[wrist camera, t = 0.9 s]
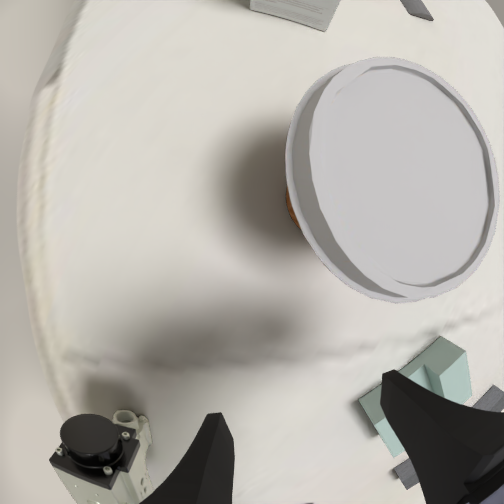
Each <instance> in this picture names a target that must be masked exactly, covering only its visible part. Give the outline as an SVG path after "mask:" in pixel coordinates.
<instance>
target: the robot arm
mask: <svg viewBox="0 0 504 504" xmlns="http://www.w3.org/2000/svg"><path fill="white" fill-rule="evenodd" d="M380 405H381V408H382V410H383V412H384V415H385V417H386V419H387V421H388V423H389V425H390V426H391V428H392V430H393V431H394V433H395V434H396V436H397V438H398V439H399V441H400V443H401V444H402V446H403V447H404V449H405V451H406V452H407V454H408V456H409V458H410V460H411V462H412V465H413V467H414V469H415V472H416V474H417V477H418V480H419V482H420V485H421V488H422V491H423V494H424V497H425V501H426V504H504V412H493V411H486V410H481V409H476V408H472V407H468V406H465V405H462V404H459V403H456V402H453V401H451V400H448V399H446V398H444V397H441V396H439V395H437V394H435V393H433V392H431V391H430V390H428V389H426V388H424V387H422V386H421V385H419V384H417V383H416V382H414V381H412V380H411V379H409V378H407V377H406V376H404V375H403V374H401V373H399V372H398V371H396V370H391V371H389V372H386V373H383V374H382V386H381V397H380ZM234 461H235V455H234V441H233V437H232V435H231V433H230V431H229V428H228V426H227V424H226V422H225V419H224V417H223V415H222V413H221V412H220V413H211V414H207V415H206V417H205V419H204V422H203V424H202V426H201V428H200V429H199V431H198V433H197V435H196V437H195V439H194V440H193V442H192V444H191V446H190V447H189V449H188V451H187V452H186V454H185V455H184V457H183V458H182V459H181V461H180V462H179V464H178V465H177V466H176V468H175V469H174V470H173V472H172V473H171V474H170V475H169V476H168V477H167V479H166V480H165V481H164V482H163V483H162V484H161V485H160V486H159V487H158V488H157V489H156V490H155V491H154V492H153V493H151V494H150V495H149V496H148V497H147V498H145V499H144V500H143V501H142V502H140V503H139V504H232V490H233V476H234Z"/></svg>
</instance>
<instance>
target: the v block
mask: <svg viewBox="0 0 504 504" xmlns="http://www.w3.org/2000/svg"><path fill="white" fill-rule="evenodd" d="M399 373H401V374H403V375H404V376H406V377H407V378H409V379H411V380H412V381H414V382H416V383H417V384H419V385H421V386H422V387H424V388H426V389H428V390H430V391H431V392H433V393H435V394H437V395H439V396H441V397H444V398H446V399H448V400H451V401H453V402H456V403H459V404H462V405H463V404H464V403H465V402H466V401H467V400H468V399H469V398H470V397H471V396H472V389H471V381H470V374H469V367H468V361H467V355H466V351H465V350H463V349H462V348H460V347H458V346H457V345H455V344H453V343H452V342H450V341H448V340H447V339H445V338H443V337H442V336H440V337H439V338H438V339H437V340H436V341H435V342H434V343H433V344H432V345H430V346H429V347H428V348H427V349H426V350H425V351H423V352H422V353H421V354H420V355H419V356H417V357H416V358H415V359H414V360H413V361H411V362H410V363H409V364H408V365H406V366H405V367H404V368H402V369H401V370H400V371H399ZM381 386H382V384H381V385H379V386H378V387H376V388H375V389H374V390H372V391H371V392H369V393H368V394H366V395H365V396H363V397H362V398H360V399H358V400H359V402H360V404H361V405H362V407H363V409H364V410H365V412H366V413H367V415H368V417H369V418H370V420H371V422H372V423H373V425H374V427H375V428H376V430H377V432H378V433H379V435H380V437H381V438H382V440H383V442H384V443H385V445H386V446H387V448H388V450H389V451H390V453H391V454H392V456H393V458H394V457H396V456H397V455H399V454H400V453H402V452H403V451H405V449H404V447H403V446H402V444H401V443H400V441H399V439H398V438H397V436H396V434H395V433H394V431H393V430H392V428H391V426H390V425H389V423H388V421H387V419H386V417H385V415H384V412H383V410H382V408H381V405H380V397H381Z"/></svg>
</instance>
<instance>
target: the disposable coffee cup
mask: <svg viewBox="0 0 504 504" xmlns="http://www.w3.org/2000/svg"><path fill="white" fill-rule="evenodd" d="M285 169H286V180H287V190H286V203H287V207H288V211H289V213H290V216H291V218H292V220H293V221H294V222H295V224H296V225H297V226H298V227H299V228H300V229H301V230H302V233H303V235H304V237H305V238H306V240H307V241H308V243H309V244H310V246H311V247H312V249H313V250H314V252H315V253H316V255H317V256H318V257H319V259H320V260H321V261H322V262H323V264H324V265H325V266H326V267H327V268H328V269H329V270H330V271H331V272H332V273H333V274H334V275H335V276H336V277H338V278H339V279H340V280H341V281H343V282H344V283H345V284H346V285H348V286H349V287H350V288H352V289H354V290H356V291H358V292H360V293H362V294H364V295H366V296H368V297H370V298H372V299H377V300H382V301H387V302H392V303H406V302H416V301H419V300H422V299H425V298H432V297H436V296H439V295H441V294H443V293H446V292H448V291H450V290H453V289H455V288H457V287H459V286H460V285H461V284H462V283H463V282H464V281H465V280H466V279H467V278H468V277H469V276H471V275H472V274H473V273H474V272H475V271H476V270H477V268H478V267H479V265H480V264H481V262H482V260H483V259H484V257H485V255H486V253H487V252H488V250H489V247H490V245H491V242H492V239H493V236H494V234H495V229H496V223H497V217H498V210H499V202H500V196H499V178H498V172H497V167H496V162H495V158H494V154H493V151H492V148H491V145H490V142H489V140H488V138H487V135H486V133H485V131H484V129H483V127H482V125H481V123H480V122H479V120H478V118H477V116H476V115H475V113H474V111H473V110H472V108H471V107H470V106H469V105H468V103H467V102H466V101H465V100H464V99H463V98H462V96H461V95H460V94H459V93H458V92H457V91H456V90H455V89H454V88H453V87H452V86H451V85H450V84H448V83H447V82H446V81H445V80H444V79H443V78H441V77H440V76H439V75H437V74H435V73H434V72H432V71H430V70H428V69H427V68H425V67H423V66H421V65H419V64H416V63H413V62H411V61H408V60H405V59H400V58H395V57H373V58H369V59H364V60H360V61H357V62H355V63H353V64H348V65H344V66H341V67H339V68H337V69H334V70H332V71H330V72H328V73H327V74H326V75H324V76H323V77H321V78H320V79H319V80H317V81H316V82H315V83H314V84H313V85H312V86H311V87H310V88H309V90H308V91H307V92H306V93H305V95H304V96H303V98H302V99H301V101H300V103H299V104H298V106H297V107H296V110H295V113H294V115H293V118H292V120H291V123H290V127H289V131H288V136H287V142H286V148H285Z"/></svg>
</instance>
